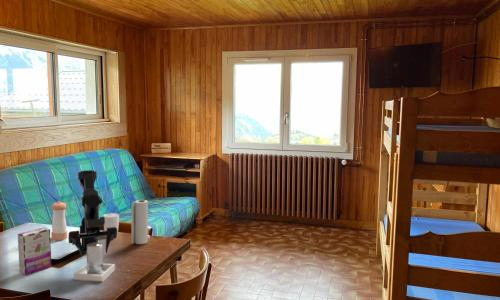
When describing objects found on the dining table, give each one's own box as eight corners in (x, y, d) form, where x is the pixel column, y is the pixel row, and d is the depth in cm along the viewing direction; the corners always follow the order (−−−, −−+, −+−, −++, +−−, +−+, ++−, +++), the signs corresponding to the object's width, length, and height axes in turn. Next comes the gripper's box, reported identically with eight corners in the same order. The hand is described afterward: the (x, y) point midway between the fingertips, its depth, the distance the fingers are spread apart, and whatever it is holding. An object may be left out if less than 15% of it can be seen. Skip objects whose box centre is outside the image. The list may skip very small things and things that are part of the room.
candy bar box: (45, 264, 169) (44, 226, 168) (51, 266, 167) (51, 228, 165) (18, 272, 160) (17, 233, 158) (25, 275, 157) (23, 235, 155)
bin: (73, 280, 155) (73, 273, 155) (88, 268, 166) (88, 262, 166) (102, 282, 154) (102, 275, 154) (114, 270, 165) (114, 264, 165)
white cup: (104, 236, 207) (104, 217, 206) (102, 232, 214) (102, 214, 213) (120, 234, 210) (120, 216, 209) (117, 230, 217) (117, 212, 216)
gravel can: (83, 274, 159) (83, 245, 158) (95, 269, 164) (95, 241, 163) (93, 277, 156) (93, 248, 155) (106, 272, 161) (105, 243, 160)
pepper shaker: (70, 237, 203) (69, 201, 201) (56, 241, 197) (56, 203, 195) (61, 235, 207) (61, 199, 205) (48, 238, 201) (47, 201, 199)
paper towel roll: (148, 240, 203) (149, 199, 200) (146, 244, 196) (146, 202, 194) (134, 240, 202) (134, 199, 200) (131, 244, 196) (131, 202, 194)
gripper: (68, 212, 159) (69, 248, 151) (116, 208, 167) (120, 242, 159) (68, 225, 167) (69, 260, 159) (114, 221, 175) (117, 254, 167)
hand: (94, 253), depth 160 cm, fingers open, 9 cm apart
